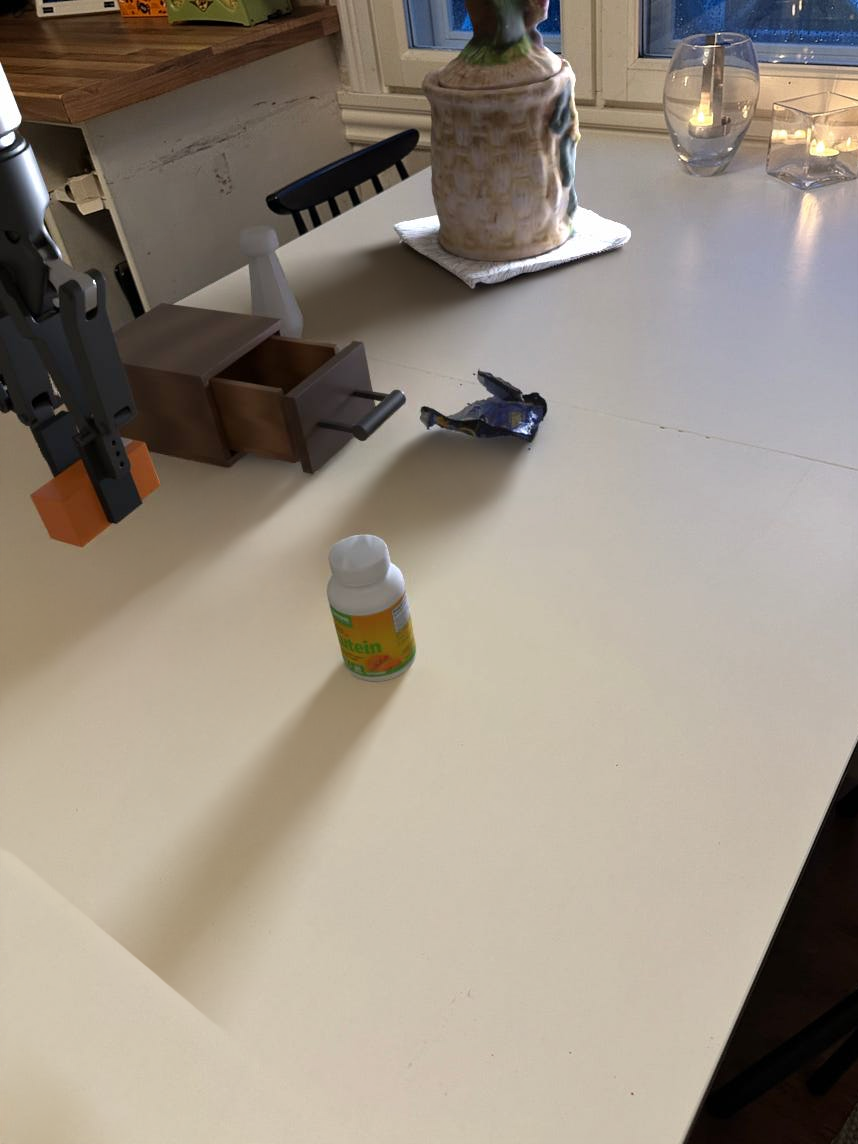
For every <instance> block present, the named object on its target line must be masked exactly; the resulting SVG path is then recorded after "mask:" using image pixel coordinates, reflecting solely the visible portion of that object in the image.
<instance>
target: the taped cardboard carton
mask: <svg viewBox="0 0 858 1144" xmlns="http://www.w3.org/2000/svg"><path fill="white" fill-rule="evenodd" d="M121 439H122V442H123V445H124V447H125V451H126V452H127V456H128V457H129V460H130V463H131V470H130V471H131V474H132V477H133V479H134V482H135V484H136V487H137V489H138V492H139V495H140V497H141V500H142V501H144V500H145V499H146V498H147V497H148V496H150V495H151V494H152V493H153V492H155V491H156V490H157V489H159V488H160V487H161V483H160V479H159V477H158V474H157V471H156V468H155V466H154V463H153V460H152V458H151V455H150V451H148V449H147V447H146V444H145V442H141V441H136V440H132V439H127V438H123V437H121ZM29 496H30V499H31V501H32V503H33V505H34V506H35V509H36V511H37V513H38V515H39V517H40V519H41V521H42V524H43V526H44V529H45V530H46V532H47V535H48V536H49V538H50V539H51V540H54V541H57V542H60V543H64V544H68V545H71V546H75V547H78V548H83V547H85V546H87V544H88V543H90V542H91V541H93V540H94V539H95V538H97V537H98V536H99V535H100V534H102V533H103V532H104V531H105V530H107V529H108V528H109V527H111V526H112V525H113V524H112V523H109V522H108V520H107V518H106V516H105V513H104V511H103V508H102V506H101V504H100V501H99V499H98V497H97V494H96V492H95V490H94V487H93V485H92V483H91V481H90V478H89V476H88V474H87V471H86V469H85V467H84V464H83V462H82V460H81V459H80V460H79V461H77V462H76V463H74V464H73V465H72V466H70V467H69V468H67V469H66V470H64V471H63V472H62V473H60V474H59V475H57V476H56V477H55V478H54V477H53V478H52V479H50V480H48V481H47V482H46V483H45V484H43V485H42V486H40V487H39V488H38V489H36V490H35V491H33V492H32V493H30V495H29Z"/></svg>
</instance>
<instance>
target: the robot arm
mask: <svg viewBox="0 0 858 1144" xmlns="http://www.w3.org/2000/svg"><path fill="white" fill-rule="evenodd" d="M21 123H22V115H21V112H20V110H19V107H18V105H17V101H16V100H15V97H14V94H13V92H12V88H11V86H10V83H9V81H8V78H7V76H6V74H5V71H4V68H3V66H2V63H1V62H0V412H1V413H2V414H8V413H10V412H12V413H14V414H15V415H16V417H17V419H18V421H19V422H20V423H21V424H23V425H24V426H25V427H28V428H29V430H30V432H31V434H32V436H33V439H34V441H35V443H36V445H37V448H38V449H39V452H40V454H41V456H42V458H43V459H44V460H45V462H46V463H47V466H48V468H49V470H50V472H51V475H52V477H53V478H55V477H56V476H57V475H59V474H60V473H62V472H63V471H64V470H66V469H67V468H69V467H70V466H72V465H73V464H74V463H76V462H77V461H79V460H80V459H81V460H82V462H83V464H84V467H85V469H86V471H87V474H88V476H89V478H90V481H91V483H92V485H93V487H94V490H95V492H96V494H97V497H98V499H99V501H100V504H101V506H102V508H103V511H104V513H105V516H106V518H107V520H108V522H109V523H112V524H111V525H117V524H119V523H120V522H122V521H123V520H124V519H125V518H127V517H128V516H129V515H130V514H131V513H133V512H134V511H135V510H137V509H138V508H139V507H140V506H141V505H143V504H144V503H143V500H141V497H140V495H139V492H138V489H137V487H136V484H135V482H134V479H133V477H132V474H131V471H130V470H131V463H130V460H129V457H128V456H127V452H126V451H125V447H124V445H123V442H122V439H121V437H120V434H119V431H118V429H120V428H121V427H122V426H124V425H125V424H127V423H128V422H130V421H131V420H132V419H134V418H135V417H136V416H137V411H136V407H135V404H134V400H133V397H132V394H131V390H130V387H129V383H128V380H127V377H126V373H125V370H124V367H123V363H122V360H121V356H120V353H119V350H118V346H117V343H116V339H115V336H114V333H113V332H114V330H113V326H112V323H111V319H110V316H109V313H108V309H107V281H106V278H105V276H104V274H103V273H102V272H101V271H100V270H99V269H97V268H95V267H91V268H89V269H88V270H86V271H84V272H81V271H80V270H78V269H76V268H75V267H73V266H72V265H70V264H68V263H67V262H65V261H64V259H63V255H62V252H61V250H60V248H59V247H58V245H57V244H56V243H55V241H54V240H53V238H52V237H51V235H50V234H49V232H48V230H47V228H46V226H45V221H44V220H45V214H46V212H47V209H48V208H49V206H50V201H51V198H50V194H49V191H48V187H47V186H46V182H45V180H44V178H43V175H42V172H41V169H40V166H39V164H38V161H37V158H36V156H35V153H34V150H33V147H32V146H31V142H30V140H28V139H27V138H25V137H24V136H23V135H21V134H19V133H17V132H14V131H16V130H17V129H19V127H20V124H21ZM52 383H53V385H54V387H53V385H52ZM5 387H6V388H7V389H6V388H5ZM54 388H55V389H56V391H57V392H58V394H55V391H54ZM62 406H65V407H66V410H63V409H62V410H60V411H59V412H57V413H55V411H56V410H58V409H59V408H60V407H62Z"/></svg>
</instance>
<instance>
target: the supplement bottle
mask: <svg viewBox="0 0 858 1144" xmlns="http://www.w3.org/2000/svg"><path fill="white" fill-rule="evenodd" d="M388 548H389V547H388V546H387V544H386V542H385V541H384V540H383V539H381V538H380V537H378V536H376V535H372V534H356V535H351V536H348V537H346V538H343V539H341V540H339V541H337V542H336V543H335V544H334V545H333V546H332V547H331V549H330V550H329V552H328V562H329V568H330V572H331V574H332V575H331V576H330V577H329V579H328V582H327V585H326V597H327V601H328V605H329V608H330V612H331V616H332V621H333V624H334V628H335V631H336V636H337V639H338V644H339V647H340V651H341V656H342V659H343V663H344V665H345V668H346V670H347V671H348V672H349V673H350V674H351V675H352V676H354V677H356V678H358V679H359V680H361V681H366V682H383V681H387V680H391V679H395V678H397V677H399V676H401V675H403V674H404V673H405V672H406V671H408V669H410V667H411V666H412V665H413V664H414V662H415V660H416V657H417V651H418V650H417V642H416V637H415V636H416V635H415V631H414V625H413V619H412V615H411V610H410V604H409V599H408V593H407V588H406V581H405V579H404V578H405V577H404V575H403V573H402V572H401V570H400V568H398V566H397V565H395V564H394V563H392V562H391V556H390V553H389V549H388Z"/></svg>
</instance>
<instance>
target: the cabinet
mask: <svg viewBox="0 0 858 1144" xmlns="http://www.w3.org/2000/svg"><path fill="white" fill-rule="evenodd" d="M113 333H114V336H115V339H116V343H117V346H118V350H119V353H120V356H121V360H122V363H123V367H124V370H125V373H126V377H127V380H128V383H129V387H130V390H131V394H132V397H133V400H134V404H135V407H136V411H137V416H136V417H135V418H134V419H132V420H131V421H130V422H128V423H127V424H125V425H124V426H122V427H121V428H120V429H118V431H119V434H120V437H123V438H127V439H132V440H136V441H141V442H145V444H146V447H147V449H148V452H152V453H156V454H161V455H165V456H166V455H167V456H171V457H175V458H181V459H185V460H189V461H193V462H199V463H204V464H207V465H211V466H212V465H213V466H218V467H222V468H226V469H230V468H231V467H232V466H233V465H235V464H236V463H237V462H238V461H239V460H241V459H242V458H243V457H244V456H245V455H247V453H243V452H238V451H233V450H229V448H228V445H227V442H226V438H225V435H224V432H223V428H222V425H221V422H220V419H219V415H218V412H217V409H216V406H215V402H214V399H213V396H212V393H211V389H210V386H209V383H208V381H209V380H210V379H211V378H213V377H214V376H215V375H217V374H218V373H220V372H221V371H222V370H224V369H225V368H227V367H228V366H229V365H231V364H232V363H234V362H235V361H236V360H238V359H239V358H240V357H242V356H243V355H245V354H246V353H247V352H249V351H250V350H252V349H253V348H254V347H256V346H257V345H259V344H260V343H261V342H263V341H264V340H265V339H267V338H268V337H270V336H271V335H277V336H284V337H286V335H285V331H284V327H283V322H282V319H277V318H270V317H263V316H255V315H252V314H247V313H246V314H245V313H239V312H233V311H224V310H217V309H210V308H203V307H196V306H190V305H189V306H187V305H180V304H174V303H173V304H172V303H165V302H161V303H159V304H157V305H156V306H155V307H153V308H151V309H150V310H147V311H146V312H145V313H143V314H141V315H139V316H138V317H136V318H135V319H133V320H131V321H130V322H128V323H126V324H125V325H123V326H122V327H121V326H120V328H118V329H116V330H115V331H113Z"/></svg>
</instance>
